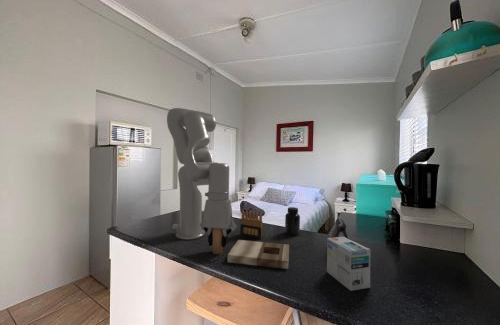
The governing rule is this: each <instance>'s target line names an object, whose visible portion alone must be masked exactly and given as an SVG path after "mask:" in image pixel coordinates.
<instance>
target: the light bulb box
mask: <svg viewBox="0 0 500 325" xmlns="http://www.w3.org/2000/svg"><path fill="white" fill-rule="evenodd" d="M326 240H327V242H326V245H327V246H326V248H327V249H326V254H327V256H326V273H327V274H329V275H330V276H331V277H333V278H334V279H335V280H336V281H338V282H339V283H340V284H341V285H343V286H344V287H345V288H346V289H348V290H349V291H350V292H351V291H352V292H353V291H359V290H364V289H370V288H371V248H368V247H367V246H364V245H362V244H360V243H358V242H356V241H353V240H351V239H349V238H348V239H347V238H346V237H344V236H338V237H336V238H331V237H327V239H326Z"/></svg>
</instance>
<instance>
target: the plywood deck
mask: <svg viewBox="0 0 500 325" xmlns="http://www.w3.org/2000/svg"><path fill="white" fill-rule="evenodd" d="M289 259H290V244H288V243H287V244H286V243H284V244H283V243H278V242H277V243H276V242H275V243H274V242H267V241H255V240H244V239H238V240H237V241H236V242H235V244H233V246H232V247H231V249H230V251H229V252H228V253H227V263H233V264H240V265H249V266H258V267H266V268H274V269H275V268H276V269H284V270H288V269H289Z"/></svg>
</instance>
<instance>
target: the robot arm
mask: <svg viewBox="0 0 500 325" xmlns="http://www.w3.org/2000/svg"><path fill="white" fill-rule="evenodd" d="M216 120H217V119H216V118H215V116H214V114H211V113H208V112H203V111H199V110H193V109H188V108H182V107H181V108H180V107H174V108H171V109H169V110H168V112H167V116H166V124H167V129H168V130H169V133H170V135H171V137H172V140H173V143H174V147H175V152H176V157H177V160H178V162H179V163H180V164H181V165H182V166H181V167H180V168H179V169H178V173H177V177H178V178H177V179H178V183H179V224H178V223H173V224H172V227H171V229H172V230H174V231H176V232H175V237H176V238H177V239H180V240H187V241H189V240H196V239H200V238H203V236H205V234H207V243H208V247H211V246H212V237H213V228H215V229H222V230H223V237H222V247H223V249H224V248H225V247H226V246H227V245H228V239H229V237H228V235H229V234H231V232H233V231H235V230H237V228H238V226H237V224H236V222H235V221H234V219H233V208H232V201H231V199H229V198H230V166H229V164H228V163H222V162H214V161H215V160H214V158H213V155H212V152H211V149H210V148H209V147H208V145H209V144H210V141H211V140H210V136H209V133H211V132H213V131H214V130H216V127H217V121H216ZM198 186H208V190H207V192H205V193H204V196H205V197H207V199H206V200H205V204H204V210H203V209H202V208H203V207H202V206H203V205H202V204H203V202H202V201H203V196H202V192H201V191H200V189H199V188H198ZM202 211H203V213H202ZM202 214H203V216H202ZM202 217H203V219H202Z"/></svg>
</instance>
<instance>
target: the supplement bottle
mask: <svg viewBox="0 0 500 325" xmlns="http://www.w3.org/2000/svg"><path fill="white" fill-rule="evenodd" d="M284 216H285V217H284V218H285V219H284V221H285V222H284V232H285V234H287V235H288V236H291V237H292V236H293V237H294V236H298V235H300V229H301V228H300V226H301V225H300V223H301V216H300V214H299V208H298V207H296V206H295V207H293V206H292V207H291V206H289V207H287V213H286V214H285V215H284Z"/></svg>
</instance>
